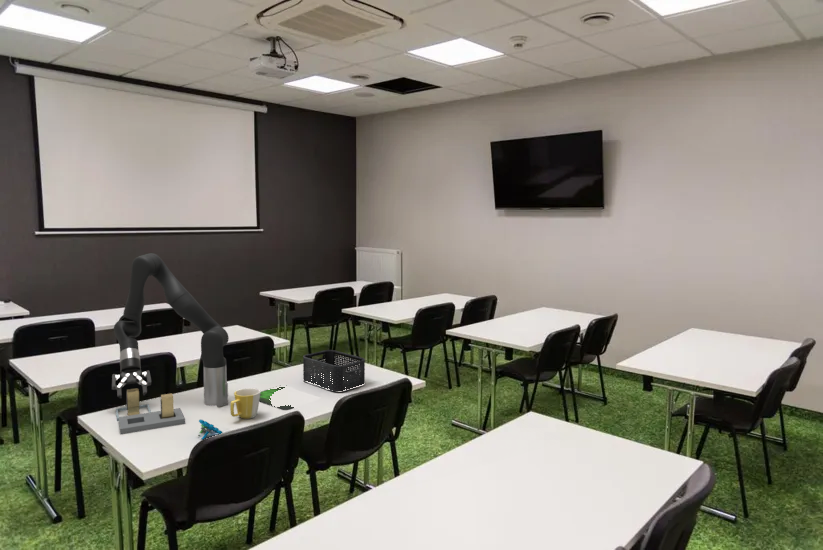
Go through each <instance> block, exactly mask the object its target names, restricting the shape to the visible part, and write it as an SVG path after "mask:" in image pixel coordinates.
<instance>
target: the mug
mask: <svg viewBox="0 0 823 550" xmlns="http://www.w3.org/2000/svg"><path fill="white" fill-rule="evenodd" d="M260 392H261V390H260V389H259V388H254V387H247V388H240V389H237V390H235V391H234V395H233V396H234V400H232V401H230V404H229V405H230V415H231V417H233V418H234V417H240V418H241V419H244V420H249V419H254V418H255V417H256V415H257V414H258V410H259V405H260V402H259V399H260ZM234 407H236V413H235V409H234Z"/></svg>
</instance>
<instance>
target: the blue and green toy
mask: <svg viewBox="0 0 823 550" xmlns="http://www.w3.org/2000/svg"><path fill="white" fill-rule="evenodd" d="M198 423H199V424H200V427H201V428H200V429H201V430H200V431H199V434H198V437H200V436H201V434H202V433H203V432H205V433H204V435H203V436H202V437H201V439H202V440H203V439H204V438H205V439H206V438H207V436H208V435H209V434H211V432H213V433H215V434H217V435H219V434H221V433H223V431H222V430H220V429H219V428H218V427H215V425H214V424H212V423H209V422H208V421H206V420H204V419H199V420H198ZM205 439H204V440H205Z"/></svg>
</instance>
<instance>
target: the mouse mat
mask: <svg viewBox="0 0 823 550" xmlns="http://www.w3.org/2000/svg"><path fill="white" fill-rule="evenodd" d="M279 388H281V389H283V388H285V387H279ZM279 388H277V389H271V388H269V389H270V390H268V389H264V390H262V391H261V390H260V391H261V392H260V399H259V403H261V404H264V405H267V406H270V405H271V406H270V407H273V406H272V404H271V401H270V400H271V398H270V396H272V394H274V392H276V391H278V390H281V389H279ZM269 399H270V400H269ZM273 408H276V407H275V406H274V407H273ZM276 409H280V410H282V411H291V410H293V409H295V408H294V407H291V405H290V406H289V405H288V406H286V405H285V406H280V407H277V408H276Z"/></svg>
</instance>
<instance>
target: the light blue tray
mask: <svg viewBox="0 0 823 550" xmlns="http://www.w3.org/2000/svg"><path fill="white" fill-rule="evenodd" d="M143 408H147V413H150V412H152V411H151V408H150V404H149V403H146V404H139V409H143ZM121 411H123V412H124V411H128V410H127V406H125V407H117V408H115V415H116V421H117V422H119V417H120V416H119V412H121Z"/></svg>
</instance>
